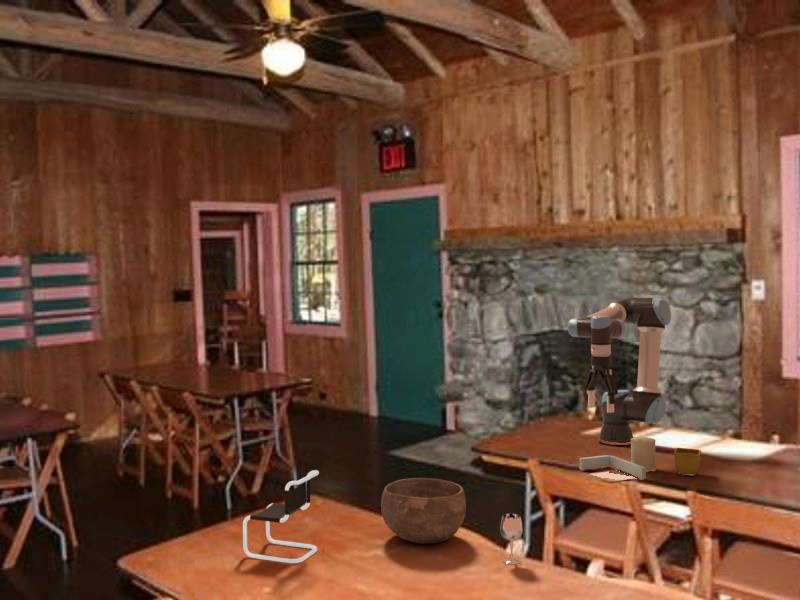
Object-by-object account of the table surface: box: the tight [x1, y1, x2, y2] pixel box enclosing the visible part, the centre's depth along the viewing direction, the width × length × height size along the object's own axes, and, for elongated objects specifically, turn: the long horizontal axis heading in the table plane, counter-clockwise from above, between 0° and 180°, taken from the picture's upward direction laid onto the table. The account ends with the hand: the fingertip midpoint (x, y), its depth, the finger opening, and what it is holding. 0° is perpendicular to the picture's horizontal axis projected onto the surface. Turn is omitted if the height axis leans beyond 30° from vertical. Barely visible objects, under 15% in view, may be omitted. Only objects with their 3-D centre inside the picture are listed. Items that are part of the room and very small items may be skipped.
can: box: [630, 436, 656, 470], centre depth 304 cm, size 9×9×12 cm
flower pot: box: [673, 447, 702, 475], centre depth 296 cm, size 9×9×9 cm
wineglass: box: [499, 513, 524, 565], centre depth 208 cm, size 6×6×12 cm
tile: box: [588, 471, 637, 480], centre depth 293 cm, size 12×12×1 cm
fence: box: [578, 454, 647, 481], centre depth 297 cm, size 14×22×4 cm, turn 20°
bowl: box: [380, 477, 467, 544], centre depth 227 cm, size 24×24×15 cm
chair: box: [242, 469, 320, 564], centre depth 216 cm, size 13×17×22 cm
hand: (600, 409), depth 310 cm, fingers open, 13 cm apart
